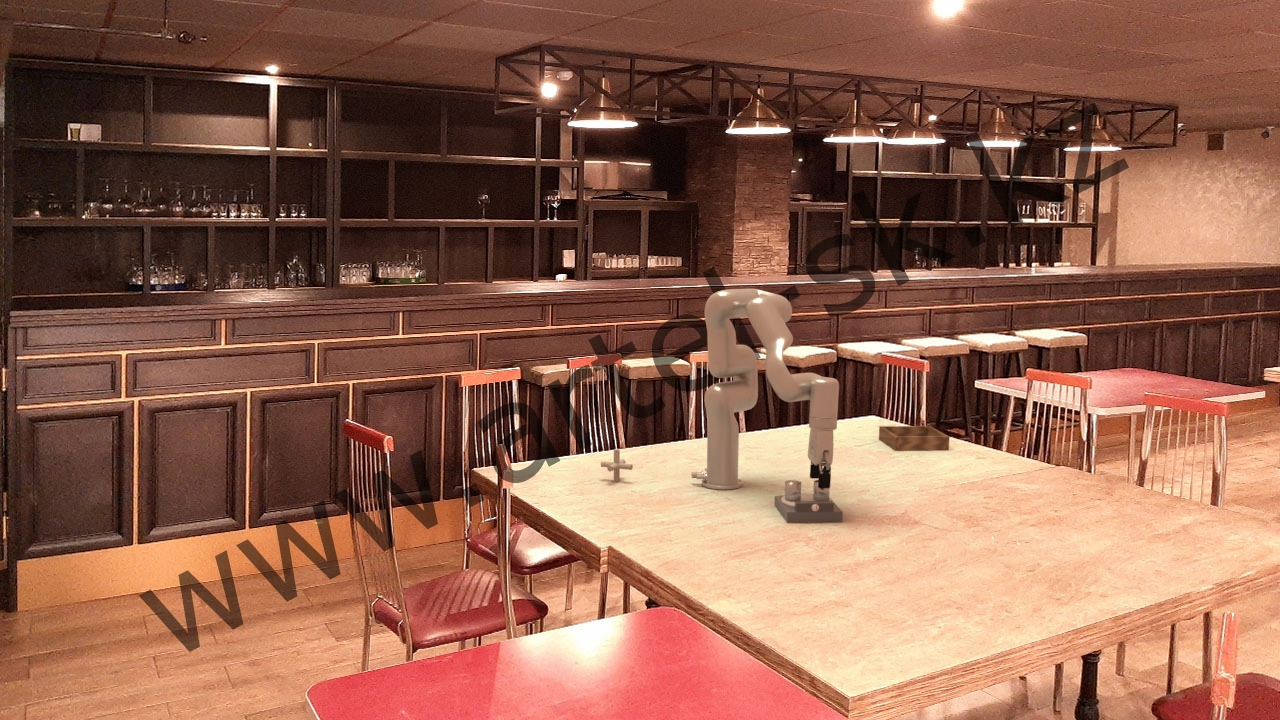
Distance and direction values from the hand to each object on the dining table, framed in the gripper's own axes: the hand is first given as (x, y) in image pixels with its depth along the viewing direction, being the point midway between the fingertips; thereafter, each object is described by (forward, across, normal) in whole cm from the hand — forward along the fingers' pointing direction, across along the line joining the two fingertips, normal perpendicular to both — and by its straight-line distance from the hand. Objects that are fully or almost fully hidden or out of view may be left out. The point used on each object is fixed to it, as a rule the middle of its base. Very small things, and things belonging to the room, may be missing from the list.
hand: (819, 483), depth 284 cm
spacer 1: (+5, 0, -8) cm, 9 cm away
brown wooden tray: (+9, -85, +56) cm, 102 cm away
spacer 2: (+4, +1, 0) cm, 5 cm away
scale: (+8, +2, -3) cm, 9 cm away
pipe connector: (+10, -36, -54) cm, 66 cm away
